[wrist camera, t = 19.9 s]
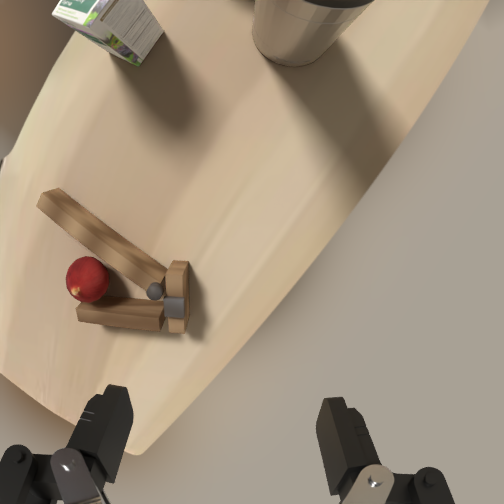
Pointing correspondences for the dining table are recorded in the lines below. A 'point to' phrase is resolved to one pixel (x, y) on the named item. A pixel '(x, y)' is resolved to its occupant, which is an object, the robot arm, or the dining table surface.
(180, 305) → the wooden hinge stand
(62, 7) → the syrup box
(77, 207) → the bar
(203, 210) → the dining table surface
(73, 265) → the onion
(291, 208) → the dining table surface
